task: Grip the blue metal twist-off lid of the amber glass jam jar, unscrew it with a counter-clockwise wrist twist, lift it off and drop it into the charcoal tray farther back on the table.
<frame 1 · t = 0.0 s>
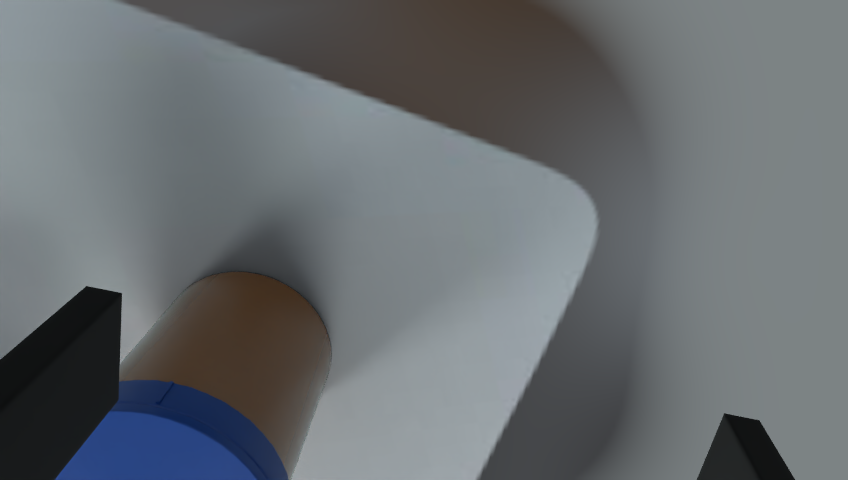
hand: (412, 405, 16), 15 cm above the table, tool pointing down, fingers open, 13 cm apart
jar: (247, 347, 33), on the table
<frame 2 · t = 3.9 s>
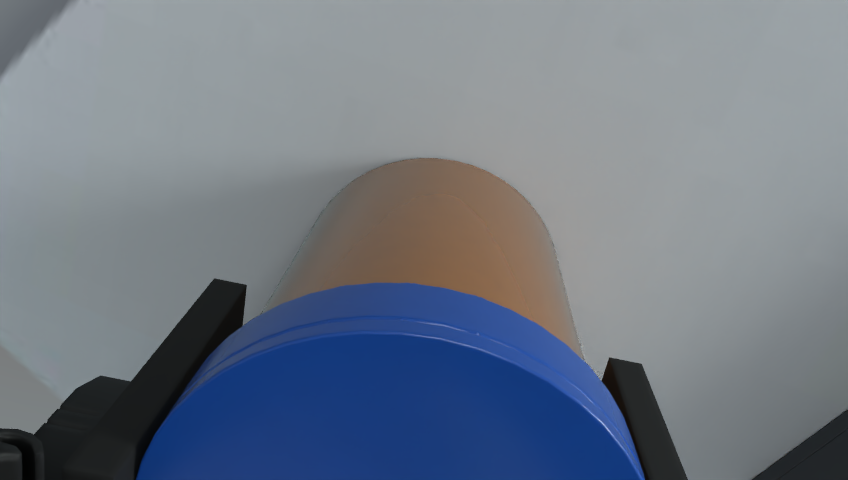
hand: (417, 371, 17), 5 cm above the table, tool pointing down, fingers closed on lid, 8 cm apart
jar: (430, 280, 22), on the table
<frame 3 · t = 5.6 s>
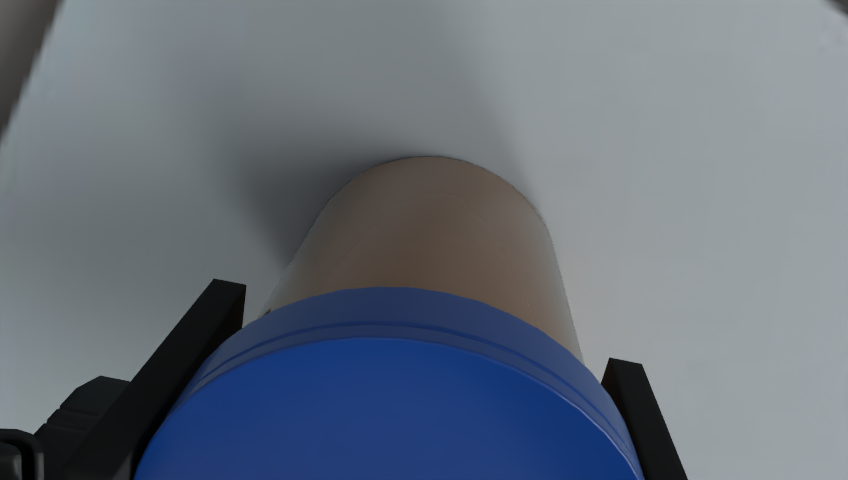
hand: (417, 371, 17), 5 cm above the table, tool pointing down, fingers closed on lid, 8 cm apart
jar: (429, 278, 22), on the table
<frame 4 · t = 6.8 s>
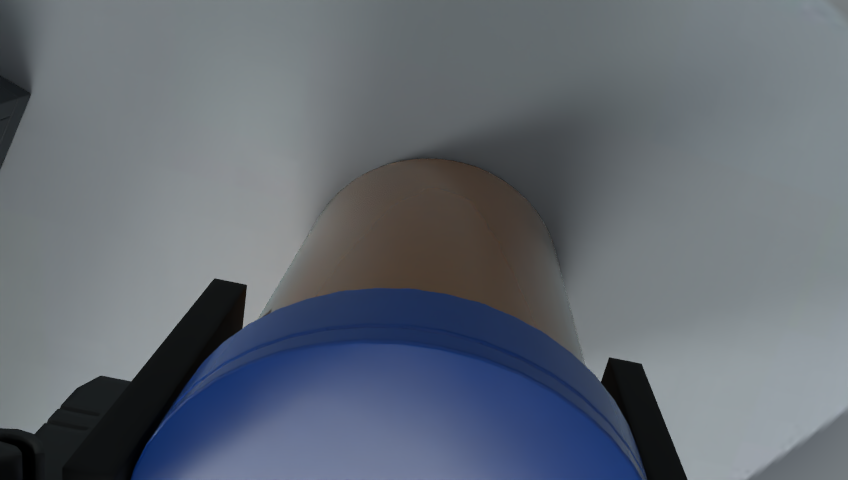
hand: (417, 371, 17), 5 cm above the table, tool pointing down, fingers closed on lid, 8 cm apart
jar: (430, 280, 22), on the table
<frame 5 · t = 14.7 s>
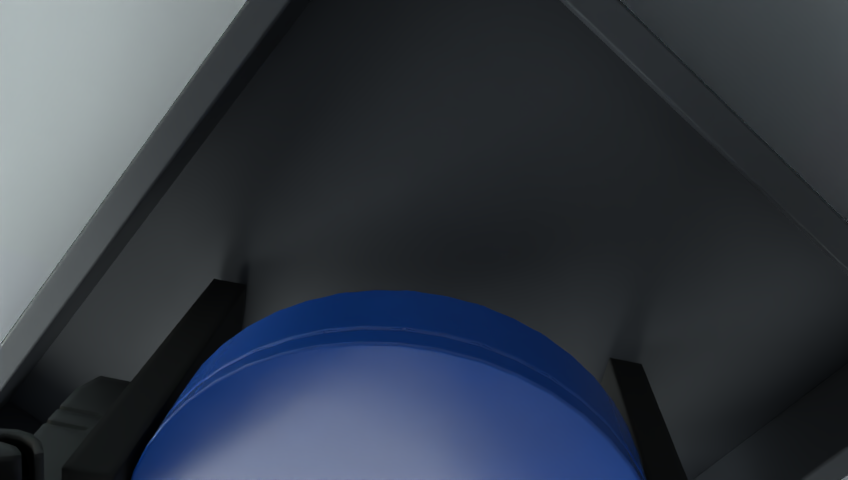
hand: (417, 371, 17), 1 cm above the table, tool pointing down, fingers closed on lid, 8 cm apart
tray: (423, 351, 18), on the table
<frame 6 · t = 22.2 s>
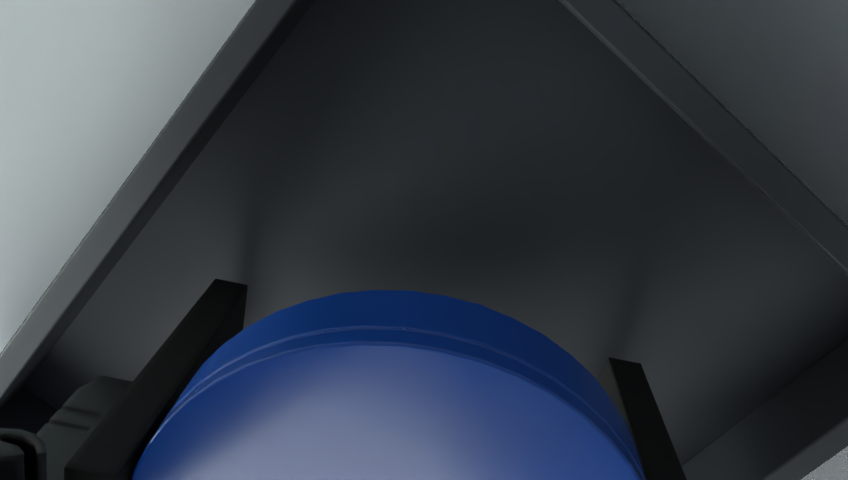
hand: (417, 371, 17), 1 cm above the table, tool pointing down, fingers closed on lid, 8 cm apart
tray: (424, 339, 18), on the table
when the fingers open (3 cm above the table, at t = 29.1 s): lid drops 5 cm, resting on tray.
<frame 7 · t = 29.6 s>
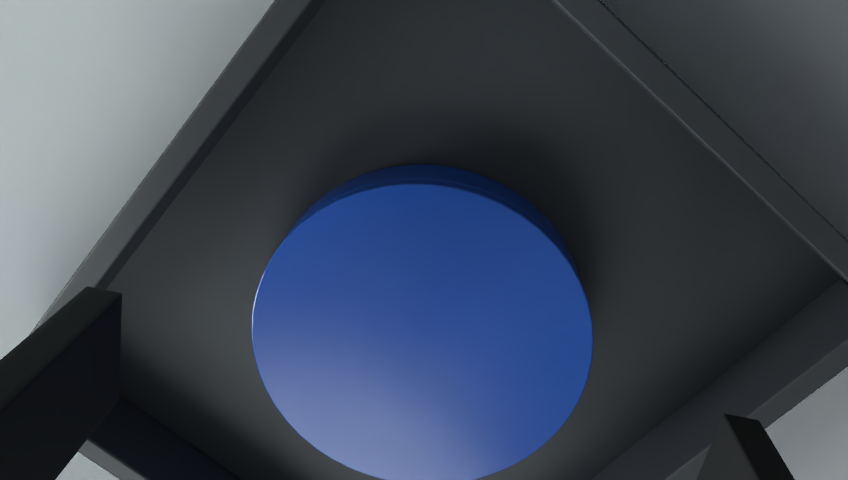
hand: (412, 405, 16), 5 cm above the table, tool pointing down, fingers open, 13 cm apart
tray: (426, 306, 20), on the table
lid: (421, 339, 18), point 2 cm above the table, off its thread, touching tray
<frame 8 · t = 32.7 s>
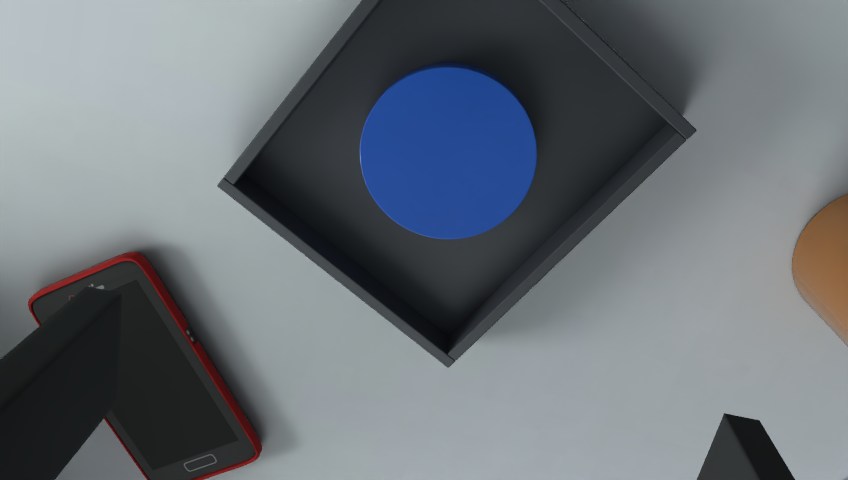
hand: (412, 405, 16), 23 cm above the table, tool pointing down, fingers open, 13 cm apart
tray: (449, 145, 37), on the table
cell phone: (154, 371, 43), on the table
lid: (447, 155, 35), point 2 cm above the table, off its thread, touching tray
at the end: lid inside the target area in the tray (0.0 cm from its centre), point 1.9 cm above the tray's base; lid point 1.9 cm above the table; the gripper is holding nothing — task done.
